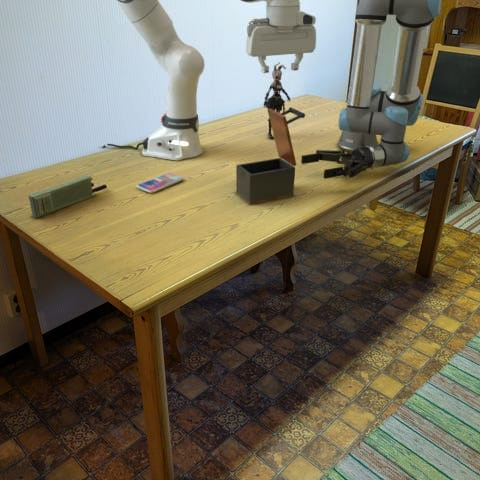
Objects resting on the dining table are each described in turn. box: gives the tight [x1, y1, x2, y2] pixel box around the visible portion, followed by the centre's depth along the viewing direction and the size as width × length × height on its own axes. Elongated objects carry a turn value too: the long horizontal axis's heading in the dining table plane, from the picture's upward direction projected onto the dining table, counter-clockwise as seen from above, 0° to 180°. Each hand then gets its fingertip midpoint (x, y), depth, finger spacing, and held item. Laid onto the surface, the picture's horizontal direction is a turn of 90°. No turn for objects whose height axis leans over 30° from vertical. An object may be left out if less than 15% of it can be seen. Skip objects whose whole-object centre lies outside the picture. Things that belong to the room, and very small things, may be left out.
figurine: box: [263, 61, 291, 140], centre depth 201 cm, size 15×6×30 cm, turn 132°
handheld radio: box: [28, 173, 108, 219], centre depth 150 cm, size 7×3×25 cm
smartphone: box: [136, 172, 184, 194], centre depth 164 cm, size 7×1×15 cm
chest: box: [235, 157, 296, 206], centre depth 156 cm, size 15×9×10 cm, turn 116°
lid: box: [267, 107, 306, 167], centre depth 152 cm, size 16×9×8 cm
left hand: (280, 71), depth 141 cm, fingers open, 8 cm apart
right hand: (312, 166), depth 162 cm, fingers open, 13 cm apart
